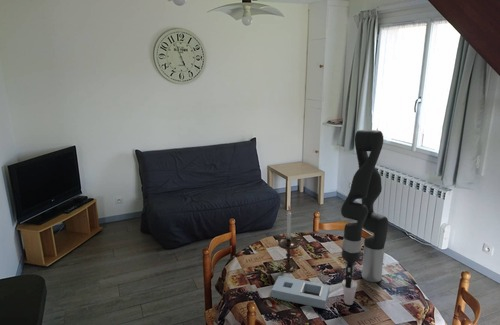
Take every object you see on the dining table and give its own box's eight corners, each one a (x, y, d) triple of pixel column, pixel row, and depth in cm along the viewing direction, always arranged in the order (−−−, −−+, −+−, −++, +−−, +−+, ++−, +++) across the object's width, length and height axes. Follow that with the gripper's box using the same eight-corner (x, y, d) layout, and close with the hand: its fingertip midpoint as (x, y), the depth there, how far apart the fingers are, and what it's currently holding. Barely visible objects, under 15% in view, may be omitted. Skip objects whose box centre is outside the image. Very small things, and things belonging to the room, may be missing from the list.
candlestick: (292, 275, 172) (293, 210, 164) (273, 269, 178) (274, 205, 170) (302, 266, 180) (304, 203, 172) (284, 260, 187) (285, 199, 178)
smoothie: (353, 297, 154) (355, 269, 151) (358, 306, 148) (360, 277, 145) (339, 298, 154) (340, 270, 151) (343, 307, 148) (345, 278, 144)
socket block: (278, 283, 166) (278, 275, 165) (329, 293, 158) (329, 284, 157) (271, 297, 155) (271, 289, 154) (325, 309, 147) (325, 300, 146)
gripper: (344, 239, 153) (341, 272, 156) (340, 253, 140) (338, 289, 143) (361, 242, 150) (359, 275, 154) (359, 257, 137) (356, 293, 141)
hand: (348, 282), depth 149 cm, fingers open, 8 cm apart
